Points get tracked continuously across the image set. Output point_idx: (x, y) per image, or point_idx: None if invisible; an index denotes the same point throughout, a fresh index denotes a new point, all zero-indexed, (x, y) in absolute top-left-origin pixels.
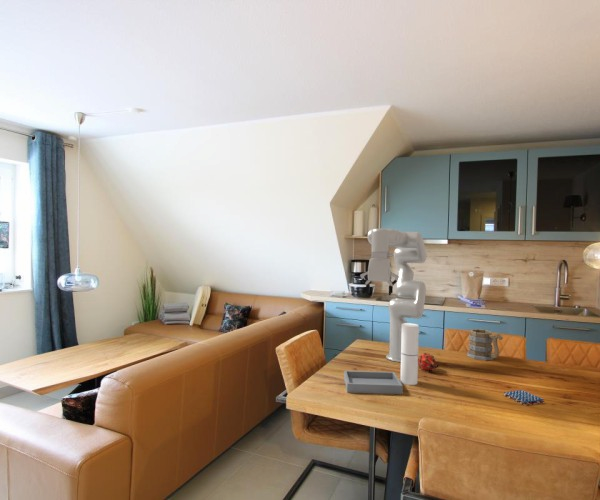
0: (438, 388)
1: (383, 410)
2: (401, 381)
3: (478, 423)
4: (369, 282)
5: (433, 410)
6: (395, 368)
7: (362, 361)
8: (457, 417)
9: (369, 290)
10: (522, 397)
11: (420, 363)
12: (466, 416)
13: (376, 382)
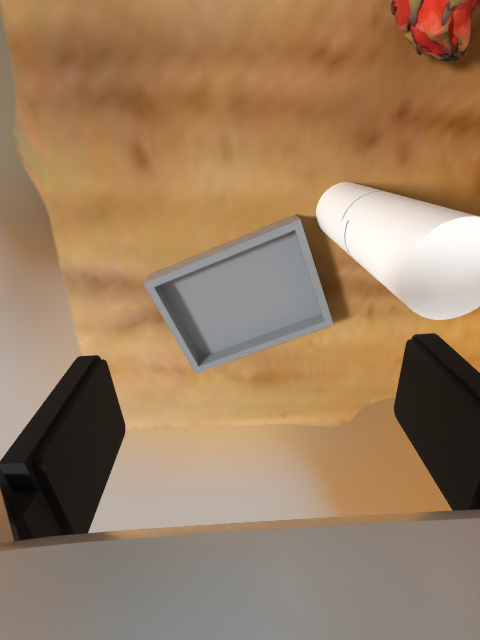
0: None
1: (294, 407)
2: (321, 228)
3: None
4: (15, 531)
5: (395, 367)
6: (285, 61)
7: (125, 20)
8: None
9: (98, 403)
10: None
11: (405, 33)
12: None
13: (252, 283)
